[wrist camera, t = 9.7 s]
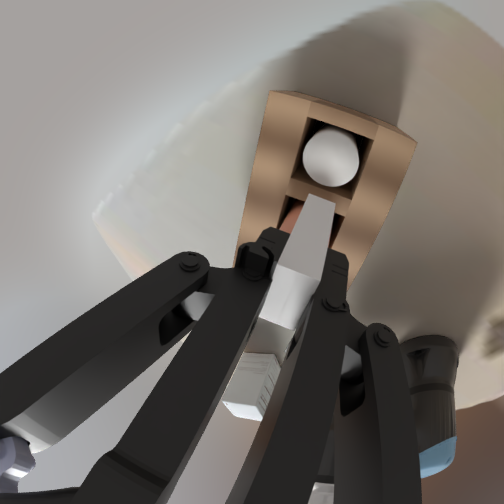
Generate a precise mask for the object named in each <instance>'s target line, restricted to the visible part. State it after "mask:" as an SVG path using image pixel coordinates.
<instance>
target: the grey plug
mask: <svg viewBox="0 0 504 504" xmlns="http://www.w3.org/2000/svg"><path fill="white" fill-rule="evenodd" d="M303 163H304V167H305V169H306V171H307V173H308V174H309V176H310V177H311V178H312V179H313V180H315V181H316V182H318V183H320V184H322V185H325V186H330V187H335V186H341V185H343V184H346V183H347V182H349V181H350V180H351V179H352V178H353V177H354V176H355V174H356V172H357V170H358V166H359V157H358V150H357V143H356V137H355V135H354V133H353V132H352V131H349V130H346V129H344V128H341V127H338V126H335V125H332V124H329V123H326V124H325V125H323V126H322V127H321V128H320V129H319V130H318V131H317V133H316V134H315V135H314V136H313V137H312V138H311V139H310V141H309V142H308V143H307V145H306V147H305V149H304V152H303Z"/></svg>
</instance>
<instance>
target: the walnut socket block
mask: <svg viewBox="0 0 504 504" xmlns="http://www.w3.org/2000/svg"><path fill="white" fill-rule="evenodd" d="M317 120H320V121H323V122H326V123H329V124H332V125H335V126H338V127H341V128H344V129H346V130H349V131H352V132H354V133H357V134H360V135H362V136H363V138H362V141H361V144H360V147H359V150H358V157H359V166H358V170H357V172H356V174H355V176H354V177H353V178H352V179H351V180H350V181H349V182H347V183H346V184H343V185H341V186H335V187H330V186H325V185H322V184H320V183H318V182H316V181H315V180H313V179H312V178H311V177H310V176H309V174H308V173H307V171H306V169H305V167H304V163H303V152H304V149H305V147H306V145H307V143H308V142H309V141H310V139H311V138H312V137H313V133H314V130H315V126H316V123H317ZM417 143H418V142H416V141H415V140H414V139H412V138H411V137H410V136H408V135H407V134H405V133H404V132H403V131H401V130H400V129H398V128H397V127H395V126H393V125H390V124H388V123H386V122H383V121H381V120H379V119H376V118H374V117H371V116H369V115H366V114H364V113H361V112H358V111H356V110H353V109H350V108H347V107H344V106H341V105H338V104H335V103H332V102H329V101H326V100H323V99H320V98H316V97H313V96H309V95H306V94H302V93H298V92H295V91H271V90H270V91H269V96H268V100H267V105H266V109H265V114H264V118H263V123H262V127H261V132H260V136H259V141H258V145H257V150H256V155H255V159H254V164H253V169H252V173H251V178H250V183H249V188H248V192H247V197H246V202H245V207H244V212H243V217H242V222H241V226H240V231H239V236H238V241H237V246H236V251H235V256H234V262H233V267H234V266H235V261H236V257H237V252H238V248H239V246H240V245H242V244H243V243H247V242H256V240H257V239H258V238H259V236H260V234H261V233H262V231H263V230H265V229H267V228H269V227H274V228H276V229H280V227H281V225H282V224H283V222H284V220H285V218H286V216H287V214H288V212H289V210H290V208H291V207H292V205H293V201H294V198H296V199H299V200H302V201H306V199H307V197H308V194H312V195H315V196H317V197H320V198H323V199H325V200H328V201H330V202H333V203H336V205H335V211H334V212H335V215H334V218H333V224H332V230H331V235H330V241H329V246H328V248H331V249H333V250H336V251H338V252H341V253H343V254H346V257H347V259H348V261H349V271H348V283H347V291H348V289H349V287H350V285H351V284H352V282H353V280H354V278H355V277H356V275H357V273H358V271H359V269H360V268H361V266H362V264H363V262H364V260H365V258H366V256H367V255H368V253H369V251H370V249H371V247H372V245H373V243H374V241H375V239H376V237H377V235H378V233H379V231H380V229H381V227H382V225H383V223H384V221H385V219H386V217H387V214H388V212H389V210H390V208H391V206H392V204H393V201H394V199H395V197H396V195H397V192H398V190H399V188H400V185H401V183H402V181H403V178H404V176H405V174H406V171H407V169H408V166H409V164H410V161H411V159H412V156H413V153H414V151H415V148H416V145H417ZM233 267H232V268H233Z"/></svg>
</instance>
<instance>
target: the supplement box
mask: <svg viewBox="0 0 504 504" xmlns="http://www.w3.org/2000/svg"><path fill="white" fill-rule="evenodd" d="M280 370H281V368H280V366H279V363H278V361H277V359H276V356H275V354H260V353H246V352H244V353H243V355H242V357H241V359H240V361H239V364H238V366H237V368H236V370H235V372H234V374H233V377H232V379H231V381H230V383H229V385H228V387H227V389H226V391H225V394H224V396H223V398H222V402H223V403H224V404H225V405H226V407H227V408H228V409H229V410H230V411H231V413H232V414H233V415H234V416H235V417H241V418H246V419H252V420H258V421H262V418H263V416H264V413H265V411H266V408H267V406H268V403H269V400H270V398H271V395H272V392H273V389H274V387H275V384H276V381H277V378H278V376H279V373H280Z"/></svg>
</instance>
